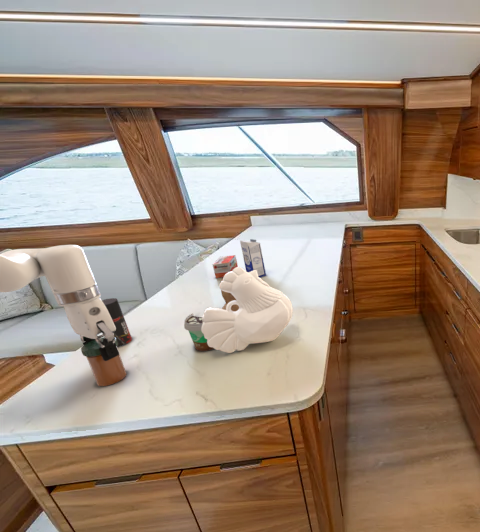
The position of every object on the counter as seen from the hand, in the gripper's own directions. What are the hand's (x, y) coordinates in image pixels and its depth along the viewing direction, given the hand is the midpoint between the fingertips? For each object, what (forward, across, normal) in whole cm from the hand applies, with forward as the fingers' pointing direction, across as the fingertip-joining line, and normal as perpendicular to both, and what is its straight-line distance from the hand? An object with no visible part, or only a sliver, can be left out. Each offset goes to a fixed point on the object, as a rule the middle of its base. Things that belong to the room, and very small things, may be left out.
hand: (103, 354), depth 80 cm
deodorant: (+8, +20, -12) cm, 24 cm away
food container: (+8, -10, -19) cm, 23 cm away
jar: (+8, 0, 0) cm, 8 cm away
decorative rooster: (+8, -23, -28) cm, 37 cm away
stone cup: (+8, +1, -42) cm, 43 cm away
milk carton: (+8, +26, -75) cm, 80 cm away
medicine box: (+8, +46, -74) cm, 87 cm away
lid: (-3, 0, 0) cm, 3 cm away
